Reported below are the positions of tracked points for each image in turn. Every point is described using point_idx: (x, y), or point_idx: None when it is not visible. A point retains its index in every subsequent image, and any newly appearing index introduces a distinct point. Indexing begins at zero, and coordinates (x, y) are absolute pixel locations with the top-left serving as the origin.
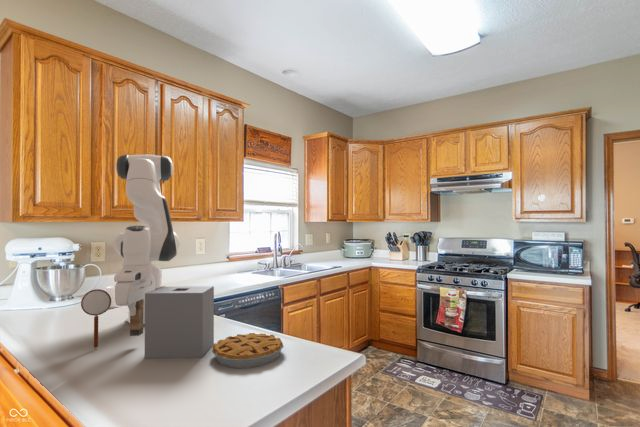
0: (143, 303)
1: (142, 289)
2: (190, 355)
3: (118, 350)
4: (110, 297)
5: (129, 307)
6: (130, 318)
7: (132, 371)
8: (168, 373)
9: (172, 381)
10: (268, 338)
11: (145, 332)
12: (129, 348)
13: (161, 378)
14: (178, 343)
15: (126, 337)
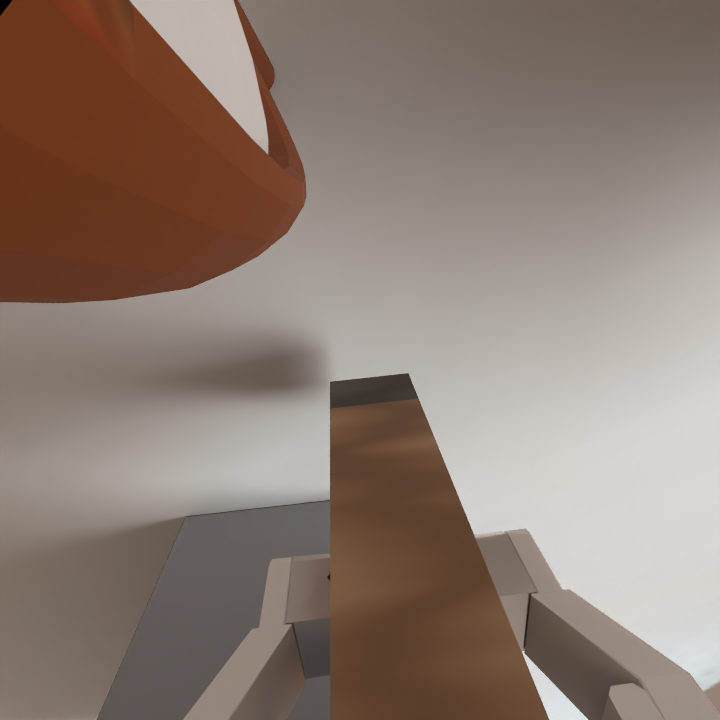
0: (575, 705)
1: None
2: None
3: (276, 293)
4: (68, 300)
5: (207, 710)
6: (330, 489)
7: (17, 555)
8: (60, 673)
9: (5, 709)
10: None
11: (121, 673)
12: (324, 344)
13: (9, 674)
14: None
15: (594, 145)
